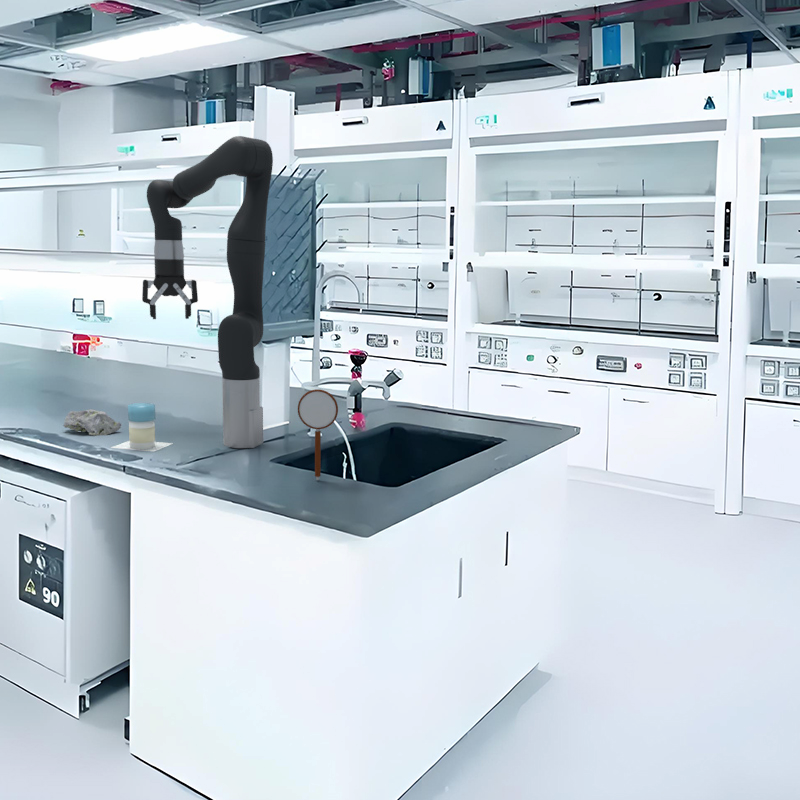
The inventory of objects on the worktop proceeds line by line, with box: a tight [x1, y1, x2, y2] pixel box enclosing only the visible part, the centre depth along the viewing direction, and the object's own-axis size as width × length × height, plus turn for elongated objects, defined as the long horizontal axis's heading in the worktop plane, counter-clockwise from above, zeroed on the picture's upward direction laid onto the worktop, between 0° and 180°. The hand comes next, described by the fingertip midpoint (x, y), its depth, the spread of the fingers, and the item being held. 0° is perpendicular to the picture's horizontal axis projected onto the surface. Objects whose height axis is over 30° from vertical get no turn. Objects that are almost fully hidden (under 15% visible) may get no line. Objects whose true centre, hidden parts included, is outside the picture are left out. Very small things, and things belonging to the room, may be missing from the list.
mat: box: [110, 440, 174, 453], centre depth 214 cm, size 12×9×1 cm
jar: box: [128, 420, 156, 451], centre depth 211 cm, size 6×6×7 cm
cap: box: [127, 402, 156, 422], centre depth 211 cm, size 6×6×4 cm
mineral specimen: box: [63, 408, 122, 437], centre depth 227 cm, size 16×7×7 cm, turn 73°
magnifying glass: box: [297, 389, 339, 482], centre depth 184 cm, size 9×2×20 cm, turn 89°
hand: (170, 318), depth 231 cm, fingers open, 8 cm apart
